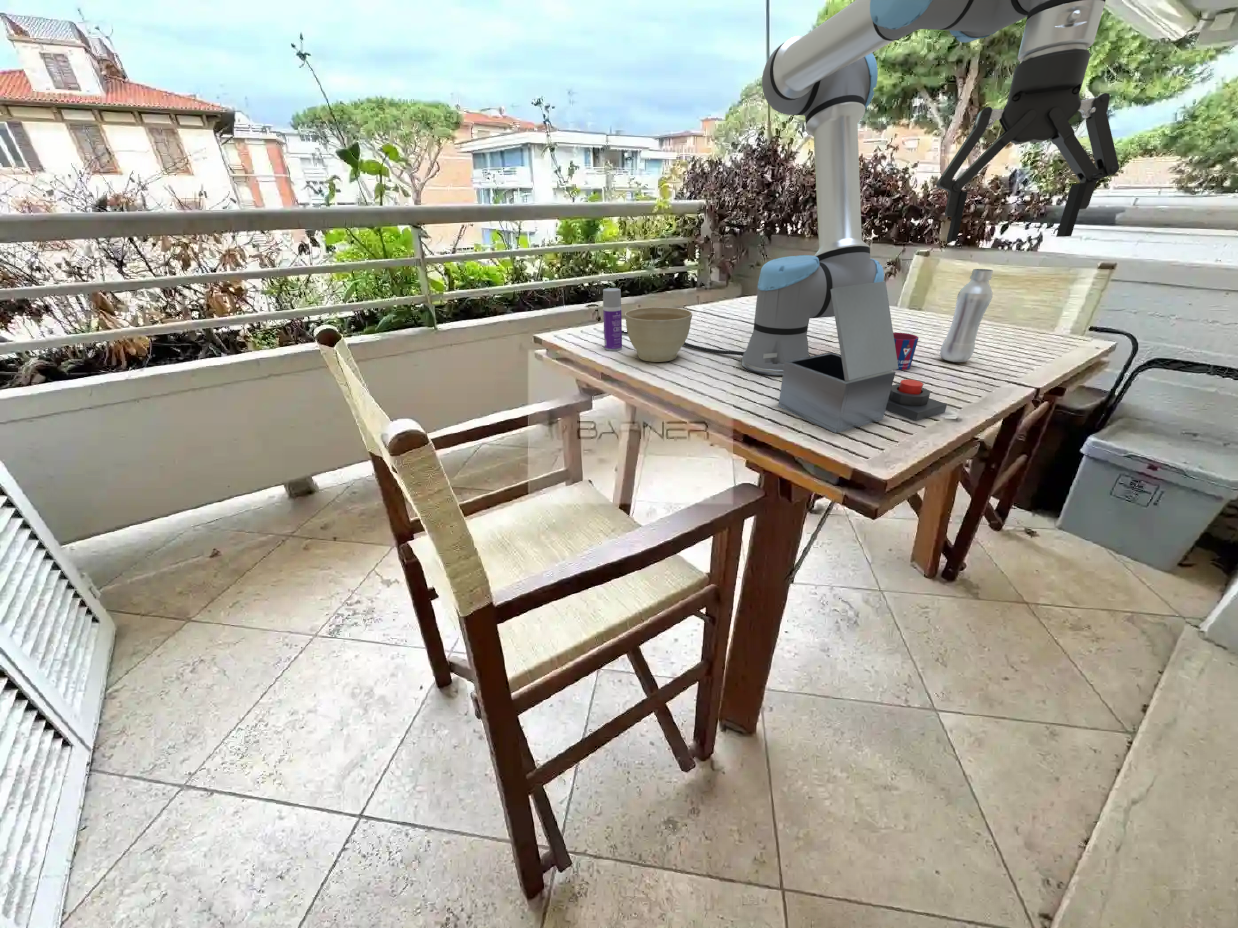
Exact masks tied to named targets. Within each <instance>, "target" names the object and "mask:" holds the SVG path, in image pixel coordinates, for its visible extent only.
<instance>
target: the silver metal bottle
mask: <svg viewBox="0 0 1238 928" xmlns="http://www.w3.org/2000/svg"><path fill="white" fill-rule="evenodd" d="M993 272H994V270H993V269H989V268H972V271H971V275H970V276H969V279H970V281H969V282H967V283H966V285H964V286H963V287H962V288H961V289H960V290H959V292H958V293H957V297H956V301H955V302H956V303H955V309H954V314H953V317H952V321H951V325H950V326H949V330H948V332H947V334H946V337H945V339H943V343H942V344H941V347H940V351H939V355H940V358H941V359H942V360H945V361H948V362H952V363H965V362H968V361H969V360H970V359H971V358H972V356H973V355H974V353H975V348H976V347H975V346H976V340H977V335H978V331H979V328H980V325H981V322H982V320H983V318H984V315H985V314H986V311H987V310H988V307H989V305H990V303H991V301H992V299H993V290H992V287H991V285H990V283H989V281H991V280H992V275H993Z"/></svg>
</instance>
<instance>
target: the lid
mask: <svg viewBox="0 0 1238 928" xmlns="http://www.w3.org/2000/svg"><path fill="white" fill-rule="evenodd" d="M831 296H832V303H833V309H834V315H835V317H834V321H835V327H836V333H837V339H838V346H839V353H840V355H841V359H842V365H843V371H844V378H845V381H849V380H854V379H858V378H862V377H866V376H871V375H875V374H879V373H883V372H888V371H895V370H896V369H898V362H897V355H896V348H895V341H894V335H893V333H894V328H893V322H892V316H891V308H890V301H889V295H888V289H887V282H886V280H885V281H884V282H876V283H869V284H861V285H853V286H846V287H838V288H833V289H831ZM896 371H897V370H896Z"/></svg>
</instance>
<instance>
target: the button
mask: <svg viewBox="0 0 1238 928" xmlns="http://www.w3.org/2000/svg"><path fill="white" fill-rule="evenodd" d="M899 384H900V385H899V389H898V391H900V392H903V393H908V394H920V393H921V390H922V387H923V386H924V383H923V382H922V381H919V380H915V379H908V378H907V379H901V380H900V381H899ZM923 388H924V387H923Z"/></svg>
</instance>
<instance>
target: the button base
mask: <svg viewBox="0 0 1238 928" xmlns="http://www.w3.org/2000/svg"><path fill="white" fill-rule="evenodd" d="M899 385H900V383H896V384H892V387H891V391H890V395H889V399H888V402H887V406H886V410H885V411H888V412H891V413H894V414H896V415H898V416H901V417H904V418H906V419H908V420H911V421H913V422H917V421H921V420H925V419H928V418H931V417H934V416H938V415H940V414H944V413H946V409H947V406H948V404H947V403H945V402H942V401H939V400H935V399H933V398H930V395H931V390H929V389H928V388H926V387H922V390H921V393H920V394H908V393H903V392H900V391H898V389H899Z"/></svg>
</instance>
